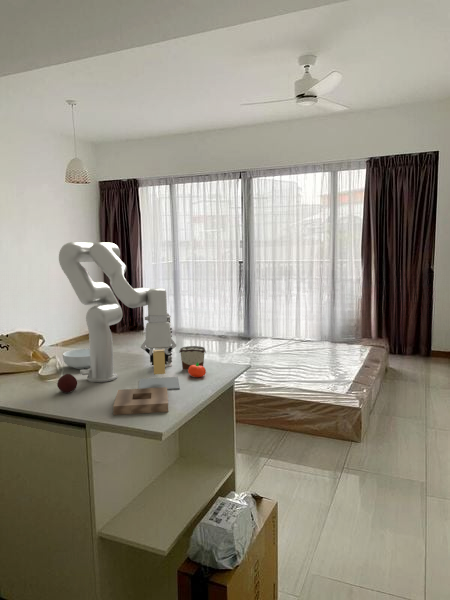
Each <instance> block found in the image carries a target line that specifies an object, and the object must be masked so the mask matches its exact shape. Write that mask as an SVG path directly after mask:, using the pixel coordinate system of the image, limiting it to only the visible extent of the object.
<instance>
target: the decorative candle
mask: <svg viewBox="0 0 450 600" xmlns="http://www.w3.org/2000/svg"><path fill="white" fill-rule="evenodd" d="M167 322H169V324H170V330H171V338H172V337H173V335H172V333H173V331H172V330H173V328H172V327H171V325H172V323H171V315H170V314H169V313H168V312H167ZM171 346H172V345H171ZM171 346H170V347H171ZM167 348H169V347H167ZM154 350H164V351H165V349H164V348H154ZM172 352H173V349H172V350H171V351H170V352H169V354H168V362H166V363H167V364H165V368H167V367H172V365H173V357H172V355H173V353H172Z"/></svg>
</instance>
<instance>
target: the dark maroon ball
mask: <svg viewBox="0 0 450 600" xmlns="http://www.w3.org/2000/svg"><path fill="white" fill-rule="evenodd" d="M56 384H57V385H56V386H57V389H58V390H59V391H61V392H62V393H65V394H67V393H72V392H73V391H75V390H76V389H77V386H78V380H77V378H76V377H75V376H74V375H73V374H71V373H65V374H63V375H62V376H60V378H58V380H57V383H56Z"/></svg>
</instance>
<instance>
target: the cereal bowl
mask: <svg viewBox="0 0 450 600" xmlns="http://www.w3.org/2000/svg"><path fill="white" fill-rule="evenodd" d="M62 359H63V363H64V364H65V365H66V366H68V367H71V368H73V369H76V370H85V369H90V348H77V349H71V350H67V351H65V352H63V353H62ZM84 368H85V369H84Z"/></svg>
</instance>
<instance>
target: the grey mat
mask: <svg viewBox="0 0 450 600" xmlns="http://www.w3.org/2000/svg"><path fill="white" fill-rule="evenodd" d="M161 387H167V391H174V390H176V391H177V390H180V382H179V377H178V376H166V377H163V376H162V377H145V378H144V377H143V378H139V382H138V388H137V389H142V388H161Z"/></svg>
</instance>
